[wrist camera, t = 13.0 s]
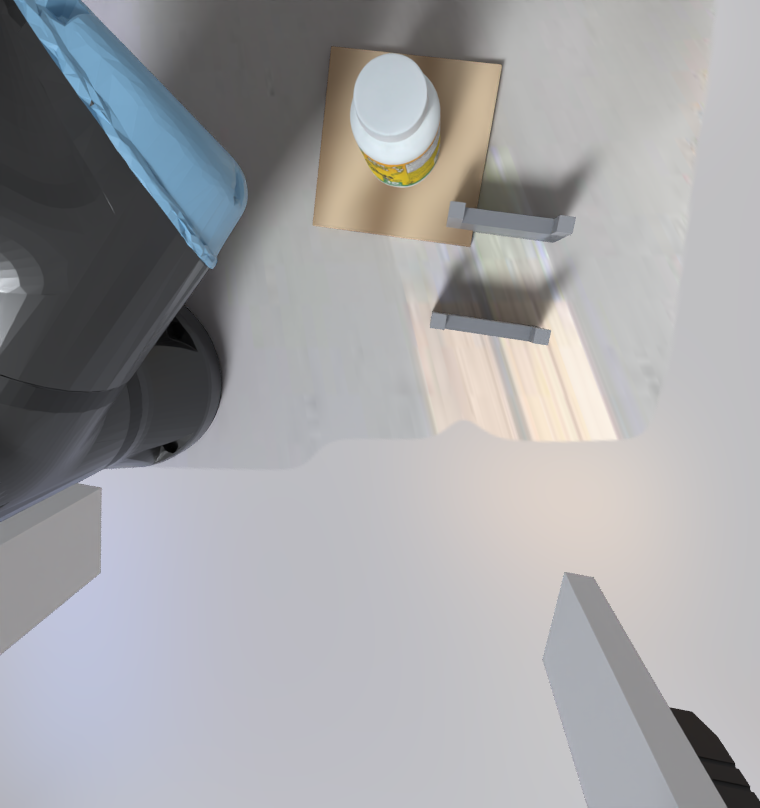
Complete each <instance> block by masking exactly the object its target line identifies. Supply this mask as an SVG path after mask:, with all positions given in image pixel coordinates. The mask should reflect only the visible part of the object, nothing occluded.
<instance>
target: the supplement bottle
mask: <svg viewBox="0 0 760 808" xmlns="http://www.w3.org/2000/svg"><path fill="white" fill-rule="evenodd" d="M440 117H441V116H440V103H439V98H438V95H437V92H436V90H435V88H434V86H433V84H432V83H431V81H430V80H429V79H428V78H427V77H426V75H424V74H423V72H422V70H421V69H420V68H419V66H418V65H417V64H416V63H415V62H414V61H413V60H412V59H410V58H408V57H406V56H404V55H401V54H396V53H388V54H383V55H380V56H378V57H376V58H374V59H372V60H371V61H370V62H368V63H367V64H366V65H365V66H364V68H363V69H362V70H361V72H360V73H359V76H358V78H357V80H356V83H355V86H354V93H353V99H352V103H351V109H350V122H351V128H352V132H353V135H354V138H355V140H356V142H357V144H358V146H359V148H360V150H361V152H362V154H363V156H364V158H365V160H366V162H367V164H368V166H369V168H370V170H371V171H372V173H373V174H374V175H375V176H376V177H377V178H378V179H379V180H380V181H381V182H383V183H385V184H387V185H390V186H394V187H400V188H405V187H411V186H414V185H416V184H418V183H420V182H421V181H423V180H424V179H425V178H426V177H427V176H428V175H429V174H430V173H431V171H432V170H433V168H434V166H435V164H436V162H437V159H438V156H439V149H440Z"/></svg>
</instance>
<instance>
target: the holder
mask: <svg viewBox="0 0 760 808" xmlns="http://www.w3.org/2000/svg"><path fill="white" fill-rule="evenodd" d="M465 205H466V203H463V202H456V201H450V206H449V212H448V218H447V224H446V227H450V228H457V229H465V230H472V231H473V232H478V233H486V234H493V235H501V236H508V237H516V238H523V239H530V240H538V241H545V242H553V243H554V242H556V241H558V240H560V239H562V238H564V237H566V236H568V235H570V234H572V233H573V228H574V224H575V219H576V217H571V216H563V215H559V216H558V217H556V218H555V219H551V218H544V217H536V216H528V215H521V214H513V213H505V212H498V211H490V210H482V209H475V208H467V207H465ZM430 328H435V329H442V330H444V329H450V330H457V331H464V332H470V333H477V334H484V335H490V336H497V337H504V338H510V339H517V340H524V341H529V342H532V343H536V344H543V345H548V342H549V338H550V333H551V330H547V329H544V328H540V327H536V326H529V325H522V324H516V323H509V322H502V321H495V320H488V319H482V318H475V317H468V316H461V315H454V314H448V313H441V312H434V311H432V316H431V322H430Z"/></svg>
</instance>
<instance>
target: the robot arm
mask: <svg viewBox="0 0 760 808" xmlns="http://www.w3.org/2000/svg"><path fill="white" fill-rule="evenodd" d="M247 198H248V189H247V183H246V179H245V176H244V174H243V172H242V170H241V168H240V166H239V165H238V163H237V162H236V161H235V160H234V159H233V157H232V156H231V155H230V154H229V153H228V152H227V151H226V150H225V149H224V148H223V147H222V146H221V145H220V144H219V143H218V142H217V141H216V140H215V139H214V138H213V137H212V135H211V134H210V133H209V132H208V131H207V130H206V129H205V128H204V127H203V126H202V125H201V124H200V123H199V122H198V121H197V120H196V119H195V118H194V117H193V116H192V115H191V114H190V113H189V112H188V110H187V109H186V108H185V107H184V106H183V105H182V104H181V103H180V102H179V101H178V100H177V99H176V98H175V97H174V96H173V95H172V94H171V93H170V92H169V91H168V90H167V89H166V88H165V87H164V86H163V85H162V83H161V82H160V81H159V80H158V79H157V78H156V77H155V76H154V75H153V74H152V73H151V72H150V71H149V70H148V69H147V68H146V67H145V66H144V65H143V64H142V63H141V62H140V61H139V60H138V59H137V58H136V57H135V56H134V55H133V54H132V53H131V52H130V51H129V49H128V48H127V47H126V46H125V45H124V44H123V43H122V42H121V41H120V40H119V39H118V38H117V37H116V36H115V35H114V34H113V33H112V32H111V31H110V30H109V29H108V28H107V27H106V26H105V25H104V24H103V23H102V22H101V21H100V20H99V19H98V18H97V17H96V16H95V15H94V13H93V12H92V11H91V10H90V9H89V8H88V7H87V6H86V5H85V4H84V3H83V2H82V1H81V0H0V655H1V654H2V653H4V652H5V651H6V650H7V649H8V648H10V647H11V646H12V645H13V644H15V643H16V642H17V641H18V640H19V639H21V638H22V637H23V636H24V635H25V634H27V633H28V632H29V631H30V630H32V629H33V628H34V627H35V626H37V625H38V624H39V623H40V622H41V621H43V620H44V619H45V618H46V617H47V616H49V615H50V614H51V613H52V612H53V611H55V610H56V609H57V608H58V607H60V606H61V605H62V604H63V603H64V602H65V601H67V600H68V599H69V598H70V597H72V596H73V595H74V594H75V593H77V592H78V591H79V590H80V589H82V588H83V587H84V586H85V585H86V584H88V583H89V582H90V581H91V580H92V579H93V578H95V577H96V576H97V575H99V574H100V572H101V569H100V568H101V490H102V488H100V487H95V486H89V485H84V484H78V482H80V481H82V480H84V479H86V478H88V477H89V476H91V475H93V474H95V473H97V472H99V471H101V470H103V469H114V468H134V467H145V466H150V465H154V464H158V463H161V462H164V461H166V460H168V459H170V458H172V457H174V456H176V455H178V454H179V453H181V452H183V451H184V450H186V449H187V448H189V447H190V446H192V445H193V444H194V443H195V442H197V441H198V440H199V439H200V438H201V437H202V435H203V434H204V433H205V432H206V430H207V429H208V428H209V426H210V424H211V423H212V421H213V419H214V416H215V414H216V411H217V408H218V405H219V400H220V394H221V372H220V366H219V361H218V357H217V354H216V351H215V348H214V346H213V343H212V341H211V339H210V337H209V335H208V334H207V332H206V330H205V329H204V327H203V326H202V325H201V323H200V322H199V321H198V319H197V318H196V317H195V316H194V315H193V314H192V313H191V312H190V311H189V310H188V309H187V308H186V307H185V306H183V304H184V303H185V302H186V300H187V299H188V297H189V296H190V295H191V293H192V292H193V291H194V289H195V288H196V286H197V285H198V284H199V282H200V281H201V279H202V278H203V277H204V275H205V274H206V272H207V271H208V270H209V268H211V269H213V268H214V267H215V266H216V264H217V261H218V260H217V255H218V253H219V251H220V250H221V248H222V246H223V245H224V243H225V241H226V240H227V238H228V237H229V235H230V233H231V232H232V230H233V229H234V227H235V225H236V224H237V222H238V221H239V219H240V217H241V216H242V214H243V212H244V210H245V208H246V204H247ZM542 660H543V663H544V666H545V669H546V672H547V676H548V679H549V682H550V686H551V689H552V692H553V696H554V699H555V702H556V705H557V709H558V712H559V715H560V719H561V722H562V725H563V728H564V732H565V735H566V738H567V741H568V744H569V748H570V751H571V754H572V758H573V761H574V764H575V767H576V771H577V774H578V778H579V781H580V784H581V787H582V790H583V794H584V797H585V800H586V803H587V807H588V808H760V801H759V799H758V798H757V796H756V795H755V793H754V792H751V790H750V786H749V784H748V782H747V781H746V779H745V778H744V776H743V775H742V773H741V772H740V770H739V769H736V767H735V763H734V761H733V760H732V758H731V756H730V755H729V753H728V752H727V750H726V749H725V747H724V746H723V744H722V743H721V741H720V740H719V738H718V737H717V736H716V735H715V734H714V733H713V732H712V731H711V730H710V729H709V728H708V727H707V726H706V725H705V724H704V723H703V722H702V721H701V720H700V719H699V718H698V717H697V716H696V715H695V714H694V713H693V712H690V711H685V710H680V709H675V708H670V707H669V706H668V705H667V703H666V701H665V699H664V698H663V696H662V694H661V693H660V691H659V689H658V687H657V686H656V684H655V682H654V680H653V679H652V677H651V675H650V673H649V672H648V670H647V668H646V667H645V665H644V663H643V661H642V660H641V658H640V656H639V655H638V653H637V651H636V650H635V648H634V646H633V644H632V642H631V641H630V639H629V637H628V636H627V634H626V632H625V631H624V629H623V627H622V625H621V624H620V622H619V620H618V619H617V617H616V615H615V613H614V611H613V610H612V608H611V606H610V605H609V603H608V601H607V599H606V598H605V596H604V594H603V592H602V591H601V589H600V587H599V586H598V584H597V583H596V580H595V579H594V577H589V576H584V575H578V574H573V573H567V572H565V573H564V576H563V580H562V584H561V588H560V592H559V596H558V600H557V604H556V608H555V612H554V616H553V620H552V624H551V628H550V632H549V636H548V640H547V644H546V647H545V651H544V655H543V659H542Z"/></svg>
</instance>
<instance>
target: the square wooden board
mask: <svg viewBox="0 0 760 808" xmlns="http://www.w3.org/2000/svg"><path fill="white" fill-rule="evenodd" d="M388 53H389V52H380V51H371V50H362V49H352V48H343V47H334V46H331V54H330V63H329V73H328V82H327V92H326V102H325V111H324V121H323V130H322V140H321V150H320V159H319V169H318V178H317V188H316V198H315V207H314V217H313V225H314V226H320V227H327V228H334V229H342V230H349V231H356V232H364V233H371V234H378V235H386V236H393V237H400V238H408V239H415V240H422V241H430V242H437V243H444V244H452V245H459V246H466V247H470V245H471V240H472V234H473V231H472V230H465V229H457V228H450V227H446V224H447V218H448V212H449V206H450V201H456V202H463V203H466V205H465V207H467V208H475V209H477V205H478V200H479V194H480V188H481V182H482V177H483V171H484V165H485V160H486V154H487V148H488V142H489V137H490V131H491V125H492V120H493V114H494V108H495V102H496V97H497V91H498V85H499V80H500V74H501V68H502V65H500V64H491V63H482V62H472V61H463V60H454V59H445V58H436V57H426V56H417V55H408V54H401V55H404V56H406V57H408V58H410V59H412V60H413V61H414V62H415V63H416V64H417V65H418V66H419V68H420V69H421V70H422V72H423V74H424V75H426V77H427V78H428V79H429V80H430V81H431V83H432V84H433V86H434V88H435V90H436V92H437V95H438V98H439V103H440V116H441V117H440V149H439V156H438V159H437V162H436V164H435V166H434V168H433V170H432V171H431V173H430V174H429V175H428V176H427V177H426V178H425V179H424V180H423V181H421V182H420V183H418V184H416V185H414V186H411V187H405V188H400V187H394V186H390V185H387V184H385V183H383V182H381V181H380V180H379V179H378V178H377V177H376V176H375V175H374V174H373V173H372V171H371V170H370V168H369V166H368V164H367V162H366V160H365V158H364V156H363V154H362V152H361V150H360V148H359V146H358V144H357V142H356V140H355V138H354V135H353V132H352V128H351V122H350V109H351V103H352V99H353V93H354V86H355V83H356V80H357V78H358V76H359V73H360V72H361V70H362V69H363V68H364V66H365V65H366V64H367V63H368V62H370V61H371V60H372V59H374V58H376V57H378V56H380V55H383V54H388ZM396 54H399V53H396Z"/></svg>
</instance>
